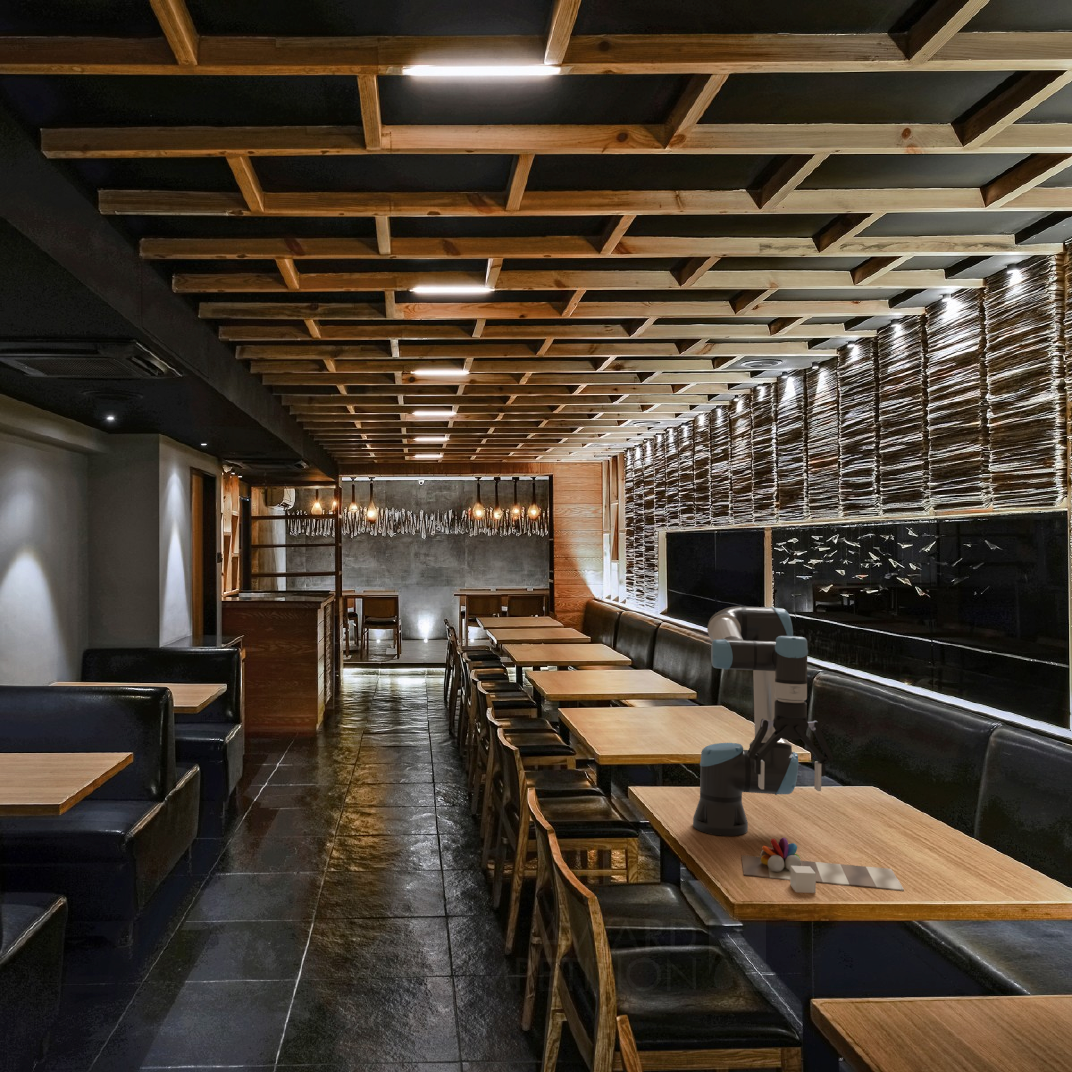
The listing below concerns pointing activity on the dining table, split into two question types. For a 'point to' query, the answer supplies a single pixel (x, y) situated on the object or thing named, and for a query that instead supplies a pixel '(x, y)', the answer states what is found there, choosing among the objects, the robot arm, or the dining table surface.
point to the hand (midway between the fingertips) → (789, 789)
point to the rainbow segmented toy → (780, 855)
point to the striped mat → (829, 873)
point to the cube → (803, 879)
